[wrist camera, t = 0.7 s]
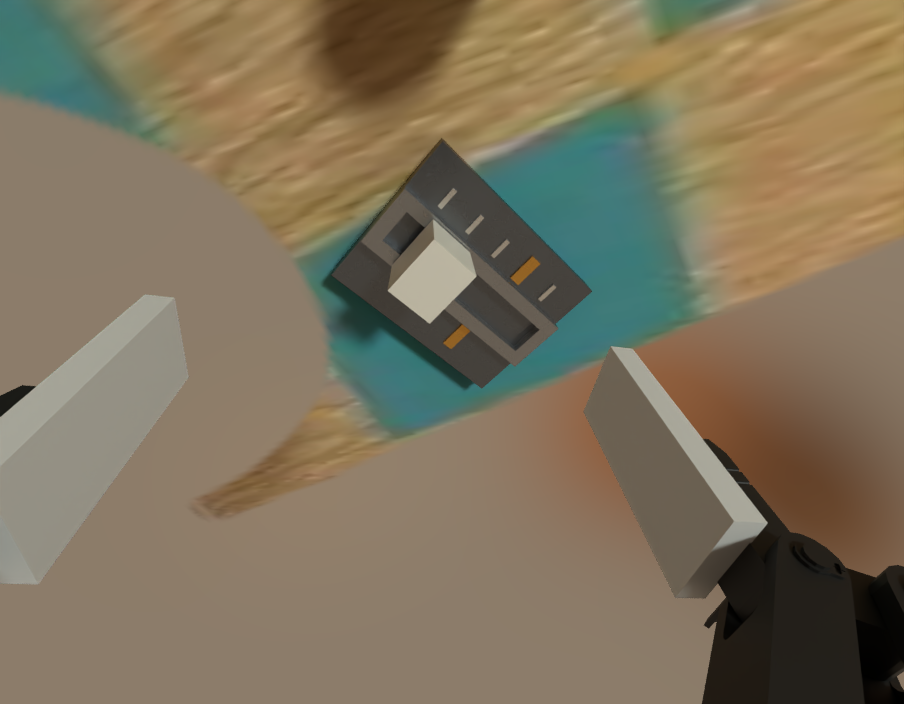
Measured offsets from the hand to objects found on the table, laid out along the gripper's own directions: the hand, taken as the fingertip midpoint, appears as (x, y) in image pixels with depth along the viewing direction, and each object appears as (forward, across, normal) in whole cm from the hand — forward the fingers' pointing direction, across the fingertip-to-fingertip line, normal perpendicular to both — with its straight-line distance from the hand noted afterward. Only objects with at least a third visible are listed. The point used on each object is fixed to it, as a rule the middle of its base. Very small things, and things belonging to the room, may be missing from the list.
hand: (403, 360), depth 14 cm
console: (+26, +6, -7) cm, 28 cm away
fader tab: (+24, +2, -5) cm, 25 cm away
